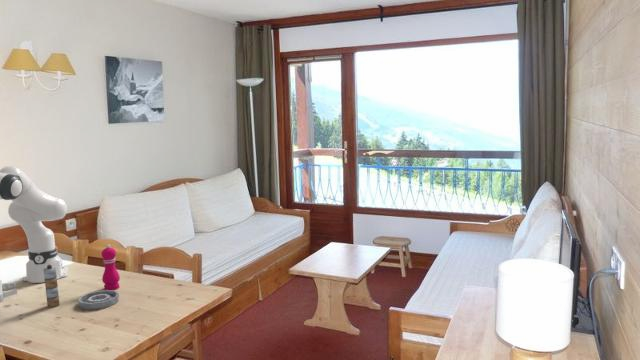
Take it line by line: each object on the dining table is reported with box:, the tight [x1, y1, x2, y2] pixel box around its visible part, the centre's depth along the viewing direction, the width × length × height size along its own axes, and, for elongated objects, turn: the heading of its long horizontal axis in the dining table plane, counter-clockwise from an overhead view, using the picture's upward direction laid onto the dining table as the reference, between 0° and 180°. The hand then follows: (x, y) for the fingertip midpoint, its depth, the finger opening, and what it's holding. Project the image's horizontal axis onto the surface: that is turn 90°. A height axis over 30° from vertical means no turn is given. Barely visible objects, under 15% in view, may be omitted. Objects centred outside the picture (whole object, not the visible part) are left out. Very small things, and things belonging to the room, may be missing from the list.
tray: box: [77, 289, 120, 311], centre depth 209 cm, size 15×15×3 cm
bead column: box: [44, 265, 61, 308], centre depth 207 cm, size 4×4×17 cm
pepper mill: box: [101, 244, 121, 291], centre depth 225 cm, size 7×7×20 cm
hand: (16, 287), depth 200 cm, fingers open, 8 cm apart
